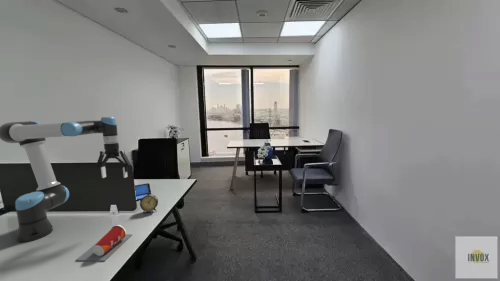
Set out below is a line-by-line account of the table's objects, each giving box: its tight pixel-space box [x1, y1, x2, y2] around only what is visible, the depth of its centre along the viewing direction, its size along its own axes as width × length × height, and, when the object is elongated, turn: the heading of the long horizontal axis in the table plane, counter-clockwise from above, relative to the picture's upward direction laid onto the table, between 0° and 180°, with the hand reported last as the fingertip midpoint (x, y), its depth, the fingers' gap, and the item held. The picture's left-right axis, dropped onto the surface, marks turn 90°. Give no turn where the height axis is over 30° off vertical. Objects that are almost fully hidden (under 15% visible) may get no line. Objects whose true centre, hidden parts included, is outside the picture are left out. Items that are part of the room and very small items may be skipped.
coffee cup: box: [92, 224, 127, 256], centre depth 113 cm, size 8×8×15 cm
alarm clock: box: [139, 188, 159, 213], centre depth 154 cm, size 11×5×16 cm, turn 98°
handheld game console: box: [134, 182, 152, 202], centre depth 181 cm, size 16×13×9 cm
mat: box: [75, 233, 133, 262], centre depth 115 cm, size 14×22×1 cm, turn 177°
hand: (114, 177), depth 137 cm, fingers open, 13 cm apart
